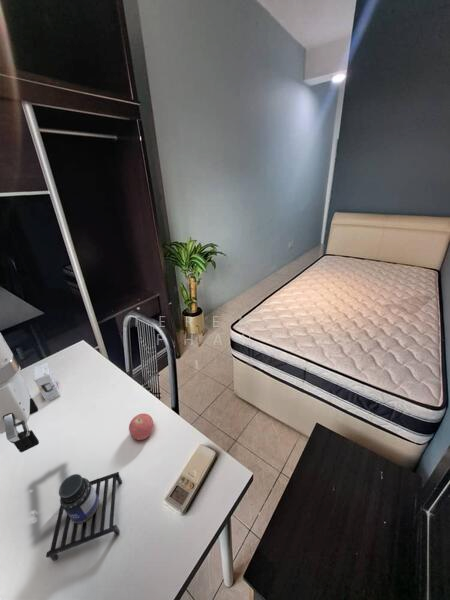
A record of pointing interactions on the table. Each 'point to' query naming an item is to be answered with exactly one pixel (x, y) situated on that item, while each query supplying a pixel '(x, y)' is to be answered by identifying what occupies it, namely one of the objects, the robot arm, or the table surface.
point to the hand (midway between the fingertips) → (30, 429)
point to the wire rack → (54, 552)
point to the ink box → (46, 382)
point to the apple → (141, 426)
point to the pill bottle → (78, 498)
